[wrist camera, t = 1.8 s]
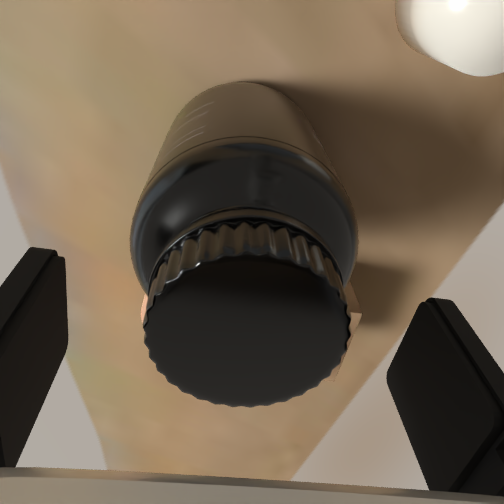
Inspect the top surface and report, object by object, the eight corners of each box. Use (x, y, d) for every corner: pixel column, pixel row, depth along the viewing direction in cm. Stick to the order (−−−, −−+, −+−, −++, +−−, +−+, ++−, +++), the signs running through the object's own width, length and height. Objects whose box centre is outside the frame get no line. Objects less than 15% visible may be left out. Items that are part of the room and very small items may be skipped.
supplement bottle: (347, 137, 20) (466, 313, 10) (258, 244, 23) (279, 465, 13) (218, 40, 17) (201, 139, 7) (137, 173, 20) (45, 375, 10)
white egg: (418, -76, 16) (469, -87, 12) (519, -50, 16) (595, -55, 13) (380, 45, 18) (415, 64, 14) (471, 64, 18) (525, 86, 15)
